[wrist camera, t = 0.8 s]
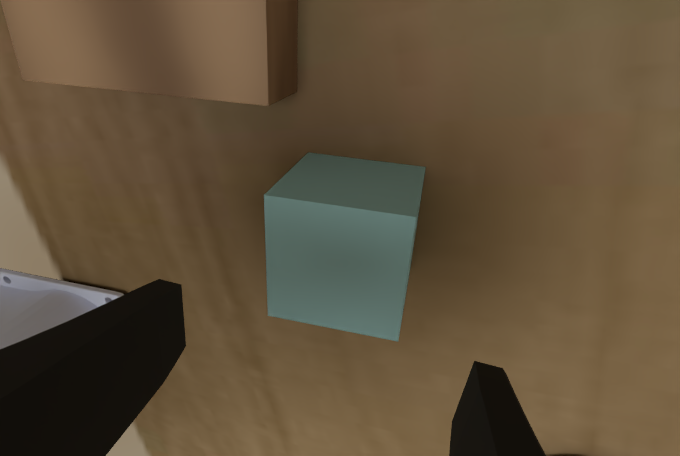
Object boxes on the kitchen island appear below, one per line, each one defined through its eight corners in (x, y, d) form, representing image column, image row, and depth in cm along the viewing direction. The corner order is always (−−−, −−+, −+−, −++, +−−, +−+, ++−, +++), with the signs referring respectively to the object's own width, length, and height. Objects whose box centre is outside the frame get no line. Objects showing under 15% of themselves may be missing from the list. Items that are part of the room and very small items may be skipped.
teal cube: (306, 251, 21) (267, 315, 16) (308, 151, 18) (263, 195, 14) (410, 269, 20) (398, 341, 15) (425, 166, 18) (416, 217, 13)
